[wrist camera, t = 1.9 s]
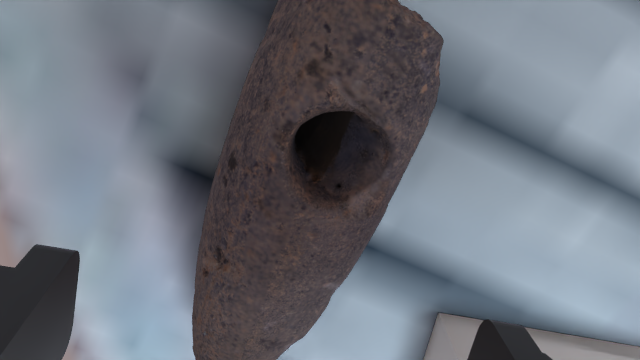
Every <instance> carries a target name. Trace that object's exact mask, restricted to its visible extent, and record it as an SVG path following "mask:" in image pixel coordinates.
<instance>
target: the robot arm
mask: <svg viewBox="0 0 640 360" xmlns="http://www.w3.org/2000/svg"><path fill="white" fill-rule="evenodd" d="M79 262H80V257H79V252H78V251H75V250H69V249H63V248H57V247H51V246H45V245H38V244H36V245H35V246H34V247H33V248H32V249H31V250H30V251H29V252H28V253H27V254H26V256H25V257H24V258H23V259H22V260H21V261H20V262H19V264H18V265H17V266H16V267H15V268H13V267H6V266H0V360H62V358H63V356H64V354H65V352H66V349H67V346H68V343H69V340H70V336H71V331H72V326H73V319H74V309H75V300H76V291H77V282H78V272H79ZM467 360H553V359H551V358H550V357H549V356H548V355H547V354H545V353H542V352H541V350H540V349H539V347H538V346H537V344H536V343H535V341H534V340H533V339H532V337H531V336H530V334H529V333H528V331H527V330H526V329H525V327H524V326H522V325H518V324H512V323H506V322H500V321H494V320H484V321H483V322H482V323H481V324H480V326H479V328H478V330H477V333H476V336H475V339H474V342H473V345H472V347H471V350H470V353H469V356H468V359H467Z"/></svg>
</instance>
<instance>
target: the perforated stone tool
mask: <svg viewBox="0 0 640 360" xmlns="http://www.w3.org/2000/svg"><path fill="white" fill-rule="evenodd" d="M442 45H443V38H442V36H441V35H440V34H439V33H438V32H437V31H436V30H435V29H434V28H433V27H432V26H431V25H430V24H429V23H428V22H426V21H424V20H423V18H422V16H421V15H420V14H418V13H417V12H416V11H411V10H409V9H408V8H407V7H405V6H402V5H401V4H400V3H399V2H398V0H278V2H277V4H276V6H275V9H274V12H273V14H272V17H271V19H270V22H269V25H268V29H267V31H266V34H265V37H264V39H263V40H262V42H261V43H260V45H259V48H258V50H257V52H256V55H255V57H254V60H253V62H252V64H251V67H250V70H249V72H248V75H247V78H246V81H245V83H244V86H243V88H242V91H241V94H240V98H239V101H238V104H237V106H236V109H235V112H234V115H233V118H232V120H231V124H230V127H229V130H228V134H227V137H226V140H225V143H224V146H223V149H222V153H221V156H220V159H219V162H218V166H217V169H216V172H215V175H214V179H213V183H212V187H211V191H210V195H209V199H208V203H207V207H206V212H205V217H204V223H203V228H202V236H201V240H200V245H199V251H198V259H197V266H196V277H195V294H194V303H193V314H192V325H193V351H194V355H195V357H196V359H195V360H276V359H277V358H278V357H279V356H280V355H281V354H282V353H283V352H285V351H286V350H287V349H288V348H289V347H290V346H291V345H292V344H294V343H295V342H296V341H298V340H300V339H301V338H303V337H304V336H305V335H306V334H307V332H308V331H309V330H310V329H311V327H312V326H313V325H314V324H315V322H316V321H317V320H318V319H319V317H320V316H321V314H322V313H323V311H324V310H325V308H326V307H327V305H328V303H329V301H330V298H331V296H332V295H333V293H334V292H335V290H336V289H337V288H338V287H339V286H340V285H341V284H342V283H343V281H344V280H345V279H346V278H347V276H348V275H349V273H350V272H351V270H352V268H353V267H354V265H355V264H356V262H357V261H358V259H359V257H360V256H361V254H362V252H363V250H364V249H365V247H366V245H367V244H368V242H369V241H370V239H371V237H372V235H373V233H374V232H375V230H376V228H377V226H378V225H379V223H380V221H381V219H382V217H383V216H384V214H385V211H386V209H387V206H388V203H389V201H390V200H391V198H392V196H393V194H394V192H395V190H396V188H397V186H398V184H399V182H400V180H401V178H402V175H403V174H404V172H405V170H406V168H407V166H408V164H409V162H410V160H411V158H412V156H413V154H414V152H415V150H416V148H417V146H418V144H419V142H420V140H421V138H422V136H423V134H424V132H425V129H426V127H427V125H428V121H429V118H430V116H431V114H432V111H433V109H434V107H435V104H436V101H437V94H438V89H439V86H440V78H439V66H440V52H441V49H442Z"/></svg>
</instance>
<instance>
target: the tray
mask: <svg viewBox="0 0 640 360" xmlns="http://www.w3.org/2000/svg"><path fill="white" fill-rule="evenodd" d="M483 321H484V320H479V319H473V318H467V317H461V316H455V315H450V314H444V313H438V315H437V318H436V321H435V325H434V328H433V331H432V334H431V337H430V340H429V343H428V346H427V349H426V352H425V356H424V359H423V360H467V359H468V356H469V353H470V350H471V347H472V345H473V342H474V339H475V336H476V333H477V330H478V328H479V326H480V324H481V323H482V322H483ZM525 329H526V330H527V331H528V333H529V334H530V336H531V337H532V339H533V340H534V341H535V343H536V344H537V346H538V347H539V349H540V350H541V352H542V353H545V354H547V355H548V356H549V357H550V358H551V359H553V360H640V347H638V346H632V345H626V344H620V343H614V342H608V341H602V340H597V339H591V338H585V337H579V336H573V335H567V334H561V333H555V332H550V331H544V330H538V329H532V328H526V327H525Z"/></svg>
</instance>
